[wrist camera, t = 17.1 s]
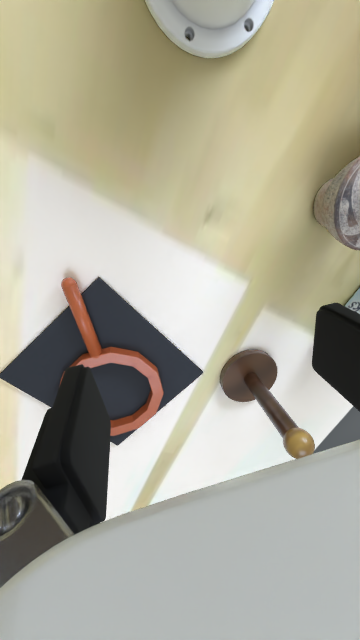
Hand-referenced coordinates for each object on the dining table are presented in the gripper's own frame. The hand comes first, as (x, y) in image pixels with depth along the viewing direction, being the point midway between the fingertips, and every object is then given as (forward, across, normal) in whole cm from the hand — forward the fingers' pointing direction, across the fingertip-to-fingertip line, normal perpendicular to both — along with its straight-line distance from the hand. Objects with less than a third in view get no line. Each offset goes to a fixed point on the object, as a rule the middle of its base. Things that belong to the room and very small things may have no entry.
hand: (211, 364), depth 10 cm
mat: (+22, +9, +14) cm, 28 cm away
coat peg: (+22, -11, +21) cm, 32 cm away
